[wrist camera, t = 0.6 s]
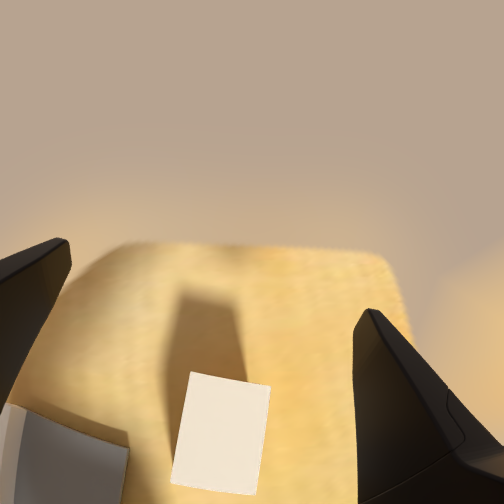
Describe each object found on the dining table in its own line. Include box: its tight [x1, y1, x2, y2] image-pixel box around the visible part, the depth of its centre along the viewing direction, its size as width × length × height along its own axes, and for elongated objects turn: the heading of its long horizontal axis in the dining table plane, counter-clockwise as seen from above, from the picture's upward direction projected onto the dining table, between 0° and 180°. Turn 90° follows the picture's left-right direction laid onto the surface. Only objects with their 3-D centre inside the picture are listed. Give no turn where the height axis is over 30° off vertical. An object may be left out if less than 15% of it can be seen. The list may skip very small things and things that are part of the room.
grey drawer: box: [0, 402, 130, 504], centre depth 13 cm, size 11×9×4 cm
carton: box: [170, 372, 271, 495], centre depth 17 cm, size 7×4×6 cm
